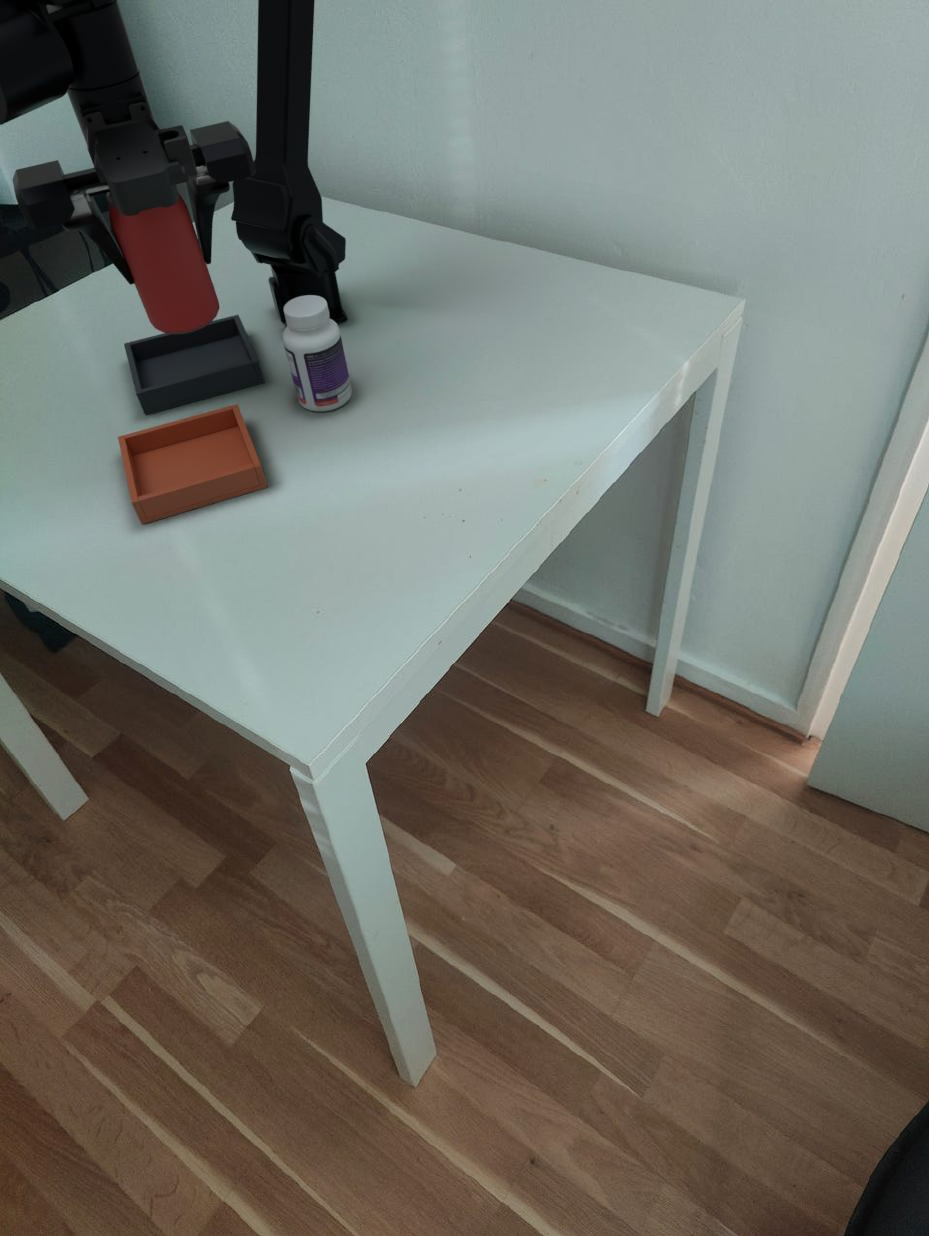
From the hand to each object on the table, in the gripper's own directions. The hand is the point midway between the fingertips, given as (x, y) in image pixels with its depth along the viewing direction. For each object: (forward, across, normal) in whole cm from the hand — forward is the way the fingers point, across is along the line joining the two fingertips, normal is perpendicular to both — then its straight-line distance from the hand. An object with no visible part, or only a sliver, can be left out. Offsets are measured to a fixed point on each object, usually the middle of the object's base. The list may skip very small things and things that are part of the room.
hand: (170, 272), depth 78 cm
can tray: (+13, -1, +4) cm, 14 cm away
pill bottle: (+13, +10, -6) cm, 18 cm away
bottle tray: (+13, -4, -12) cm, 18 cm away
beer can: (+5, 0, 0) cm, 5 cm away
